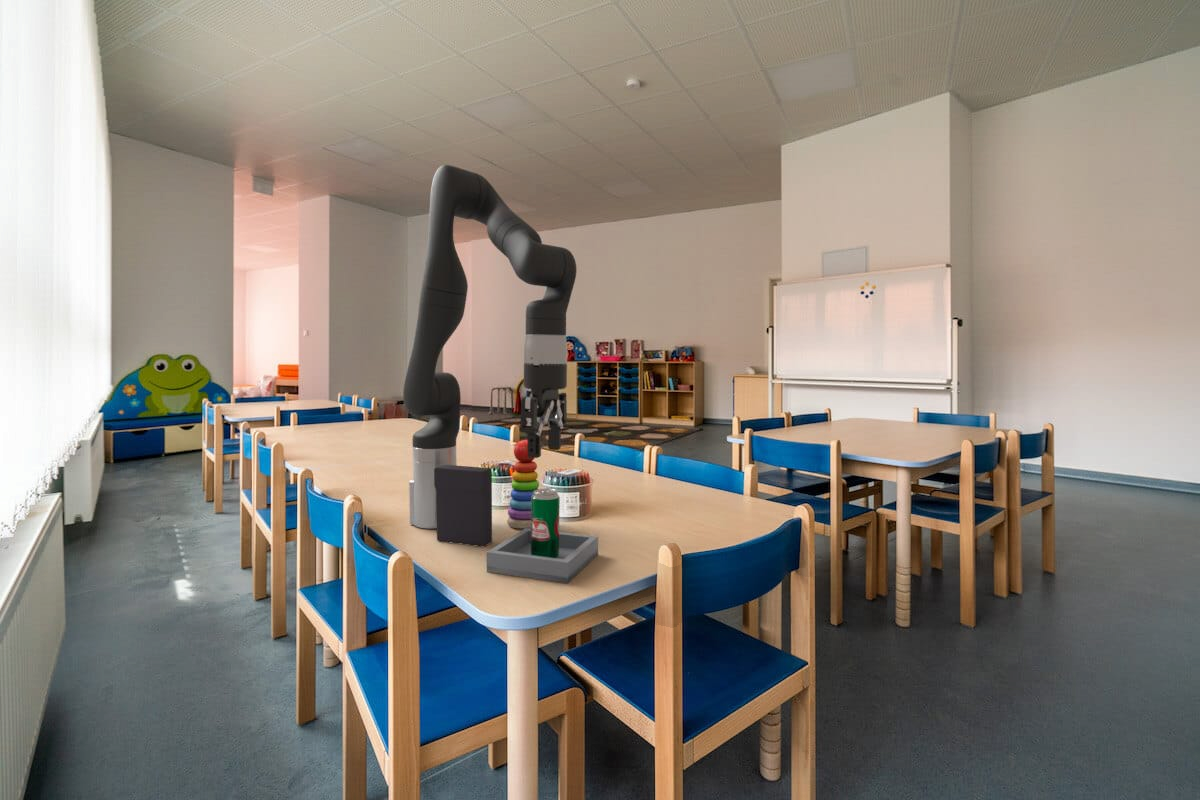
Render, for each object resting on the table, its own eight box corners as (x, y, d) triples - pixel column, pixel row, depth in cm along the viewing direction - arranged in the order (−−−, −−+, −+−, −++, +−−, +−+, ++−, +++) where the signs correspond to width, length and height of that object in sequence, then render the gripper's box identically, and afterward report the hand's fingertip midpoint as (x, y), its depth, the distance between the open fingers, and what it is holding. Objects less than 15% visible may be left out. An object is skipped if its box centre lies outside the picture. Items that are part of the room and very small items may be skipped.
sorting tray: (486, 571, 101) (486, 552, 101) (525, 545, 115) (525, 528, 115) (567, 583, 96) (567, 562, 96) (598, 554, 110) (598, 536, 110)
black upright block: (494, 541, 118) (493, 467, 116) (483, 548, 113) (482, 471, 112) (447, 535, 121) (446, 463, 120) (434, 541, 117) (433, 467, 116)
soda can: (524, 557, 105) (525, 491, 104) (543, 550, 109) (543, 486, 108) (546, 563, 102) (547, 495, 101) (564, 556, 106) (565, 490, 106)
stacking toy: (550, 526, 128) (550, 441, 127) (517, 532, 124) (516, 443, 123) (533, 518, 135) (533, 436, 134) (501, 523, 130) (500, 439, 129)
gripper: (543, 360, 111) (542, 446, 112) (506, 361, 97) (506, 458, 99) (580, 361, 108) (579, 448, 110) (548, 362, 95) (547, 461, 96)
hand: (544, 453), depth 104 cm, fingers open, 8 cm apart
